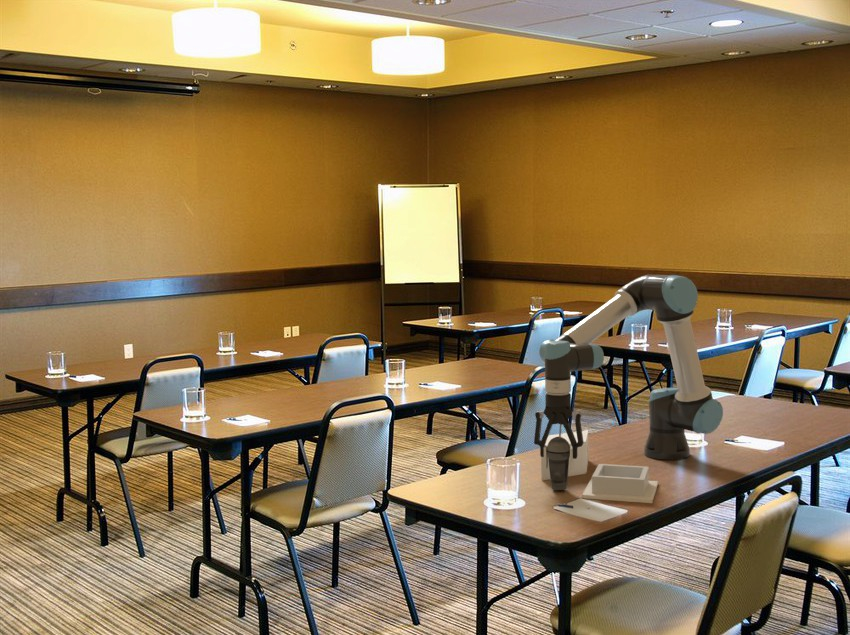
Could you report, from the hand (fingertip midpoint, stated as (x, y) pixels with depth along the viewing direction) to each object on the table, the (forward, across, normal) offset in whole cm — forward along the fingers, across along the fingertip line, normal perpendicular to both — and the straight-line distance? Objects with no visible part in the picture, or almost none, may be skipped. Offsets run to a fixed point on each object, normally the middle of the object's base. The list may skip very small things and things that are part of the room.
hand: (558, 468), depth 281 cm
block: (+7, -2, +24) cm, 25 cm away
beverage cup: (+6, 0, 0) cm, 6 cm away
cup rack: (+7, +18, +4) cm, 19 cm away
